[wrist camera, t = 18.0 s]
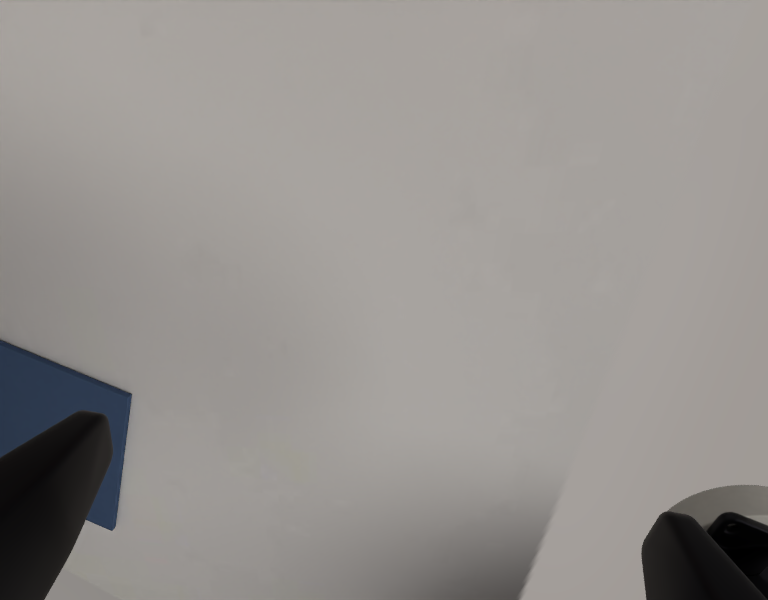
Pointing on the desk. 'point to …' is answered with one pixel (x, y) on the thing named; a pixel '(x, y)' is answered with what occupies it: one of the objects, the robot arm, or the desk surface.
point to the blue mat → (60, 413)
